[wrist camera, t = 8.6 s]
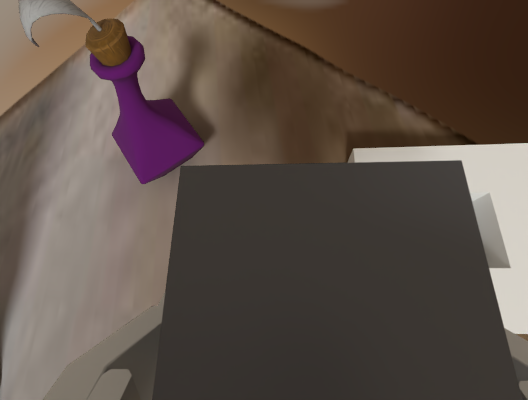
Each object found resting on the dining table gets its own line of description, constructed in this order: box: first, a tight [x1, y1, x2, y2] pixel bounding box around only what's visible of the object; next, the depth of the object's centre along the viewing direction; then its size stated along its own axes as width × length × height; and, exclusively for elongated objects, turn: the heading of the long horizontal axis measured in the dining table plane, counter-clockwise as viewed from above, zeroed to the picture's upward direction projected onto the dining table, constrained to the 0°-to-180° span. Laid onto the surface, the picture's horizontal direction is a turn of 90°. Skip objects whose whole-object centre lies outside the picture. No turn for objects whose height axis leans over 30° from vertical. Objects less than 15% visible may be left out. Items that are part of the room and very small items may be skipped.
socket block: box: [347, 143, 528, 334], centre depth 25 cm, size 16×16×4 cm
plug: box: [152, 160, 523, 400], centre depth 9 cm, size 4×4×11 cm
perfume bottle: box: [19, 0, 204, 184], centre depth 24 cm, size 8×8×18 cm
